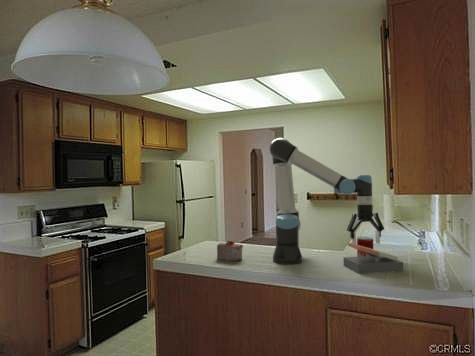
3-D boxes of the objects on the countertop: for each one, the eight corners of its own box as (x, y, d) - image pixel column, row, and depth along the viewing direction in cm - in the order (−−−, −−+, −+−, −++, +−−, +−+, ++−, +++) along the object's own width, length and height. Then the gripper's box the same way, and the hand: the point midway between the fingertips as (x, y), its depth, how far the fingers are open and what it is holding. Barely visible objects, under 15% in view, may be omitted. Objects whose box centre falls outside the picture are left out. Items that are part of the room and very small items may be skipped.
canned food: (374, 260, 168) (374, 239, 168) (358, 259, 170) (358, 238, 170) (371, 257, 176) (371, 236, 176) (356, 256, 177) (356, 236, 177)
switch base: (358, 273, 145) (358, 260, 145) (343, 265, 159) (343, 253, 159) (403, 271, 149) (403, 257, 149) (384, 263, 162) (384, 251, 162)
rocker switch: (358, 251, 147) (359, 246, 147) (347, 247, 157) (348, 242, 157) (396, 262, 150) (397, 257, 150) (383, 256, 160) (384, 252, 160)
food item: (244, 259, 174) (244, 240, 174) (239, 262, 166) (239, 243, 166) (221, 257, 178) (221, 239, 178) (215, 260, 171) (215, 241, 171)
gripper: (346, 205, 167) (347, 246, 167) (390, 203, 171) (391, 244, 171) (339, 204, 175) (340, 243, 174) (382, 202, 178) (383, 241, 178)
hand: (366, 244), depth 173 cm, fingers open, 13 cm apart
